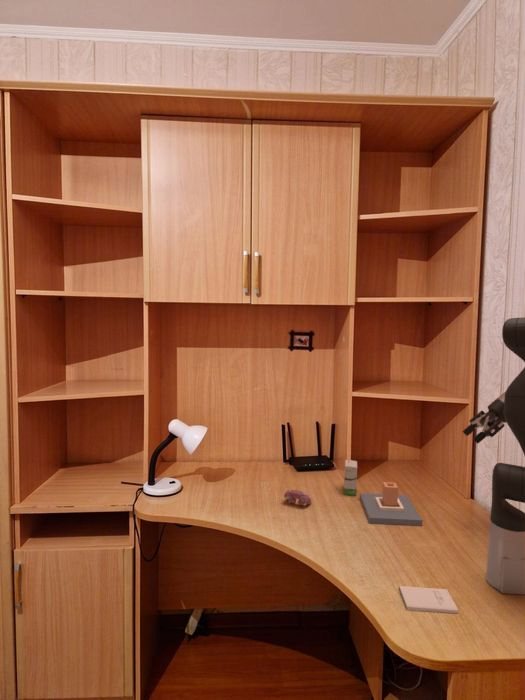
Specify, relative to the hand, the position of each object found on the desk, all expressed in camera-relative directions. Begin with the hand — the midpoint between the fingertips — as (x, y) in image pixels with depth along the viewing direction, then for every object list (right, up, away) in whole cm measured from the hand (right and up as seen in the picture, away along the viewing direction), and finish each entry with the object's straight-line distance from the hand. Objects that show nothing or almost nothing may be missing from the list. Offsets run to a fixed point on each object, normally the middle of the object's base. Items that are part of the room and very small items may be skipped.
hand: (469, 437), depth 148 cm
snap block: (-25, -27, +10) cm, 38 cm away
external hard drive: (-29, -35, -38) cm, 59 cm away
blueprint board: (-25, -29, +10) cm, 40 cm away
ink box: (-36, -28, +27) cm, 53 cm away
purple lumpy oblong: (-58, -28, +15) cm, 67 cm away
